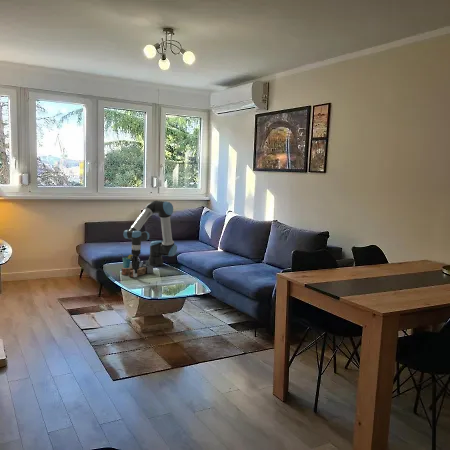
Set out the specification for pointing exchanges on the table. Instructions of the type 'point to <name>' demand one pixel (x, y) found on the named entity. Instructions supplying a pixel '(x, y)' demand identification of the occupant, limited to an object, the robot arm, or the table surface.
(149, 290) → the table surface
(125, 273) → the base
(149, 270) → the collar
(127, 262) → the cup
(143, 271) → the hinged jaw
